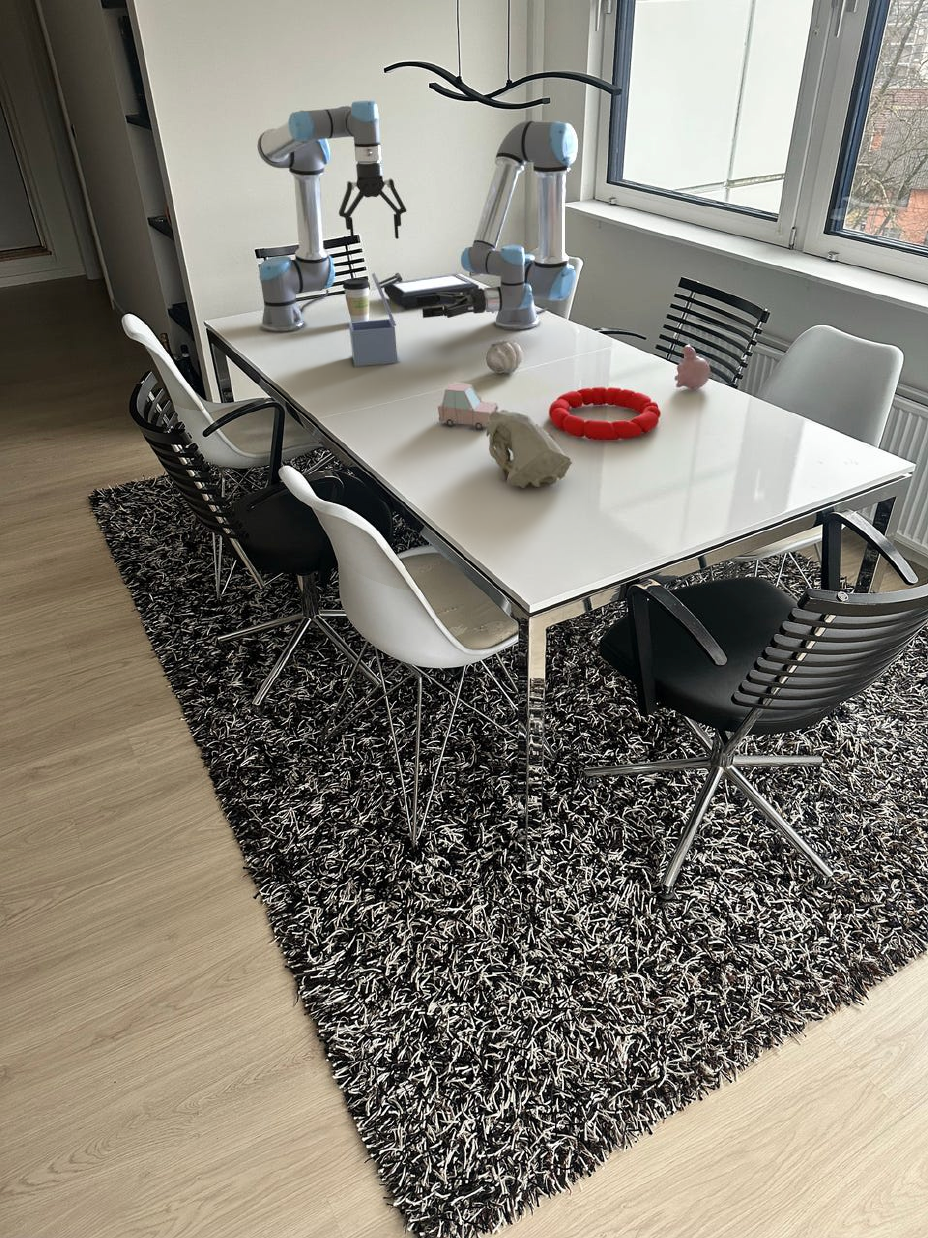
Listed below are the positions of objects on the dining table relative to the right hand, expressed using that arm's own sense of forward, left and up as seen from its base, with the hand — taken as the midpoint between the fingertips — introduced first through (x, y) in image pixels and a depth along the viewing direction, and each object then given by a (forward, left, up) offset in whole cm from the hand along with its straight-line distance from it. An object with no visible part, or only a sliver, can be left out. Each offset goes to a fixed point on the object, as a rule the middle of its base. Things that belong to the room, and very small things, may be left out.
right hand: (419, 306), depth 286 cm
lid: (+10, -6, +3) cm, 12 cm away
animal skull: (+30, +89, -16) cm, 95 cm away
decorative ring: (-7, +80, -16) cm, 82 cm away
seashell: (-11, +31, -16) cm, 36 cm away
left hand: (+11, -6, +21) cm, 24 cm away
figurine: (-44, +77, -16) cm, 90 cm away
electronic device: (-41, -55, -16) cm, 70 cm away
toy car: (+22, +57, -16) cm, 63 cm away
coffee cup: (-3, -46, -16) cm, 49 cm away
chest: (+14, -7, -16) cm, 22 cm away
